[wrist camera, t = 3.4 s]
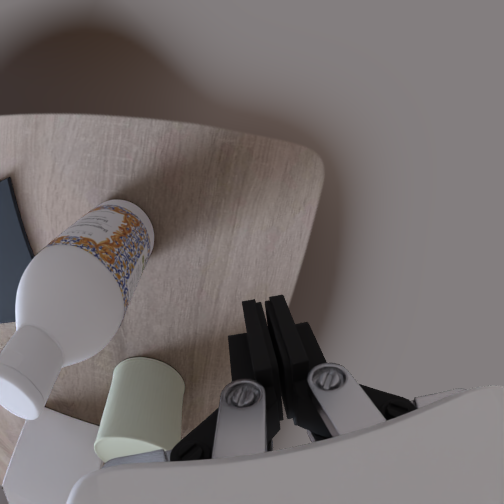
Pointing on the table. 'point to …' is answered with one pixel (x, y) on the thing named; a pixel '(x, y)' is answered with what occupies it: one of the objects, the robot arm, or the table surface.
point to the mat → (11, 251)
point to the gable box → (50, 459)
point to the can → (141, 409)
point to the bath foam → (73, 301)
